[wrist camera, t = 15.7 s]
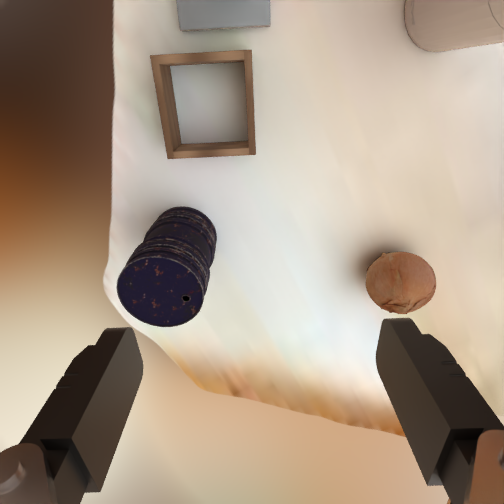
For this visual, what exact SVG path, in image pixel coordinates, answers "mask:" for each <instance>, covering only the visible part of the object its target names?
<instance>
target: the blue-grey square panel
mask: <svg viewBox="0 0 504 504" xmlns="http://www.w3.org/2000/svg"><path fill="white" fill-rule="evenodd" d="M176 1H177V9H178V17H179V24H180V30H181V31H198V30H216V29H233V28H250V27H268V26H270V0H176Z"/></svg>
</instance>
